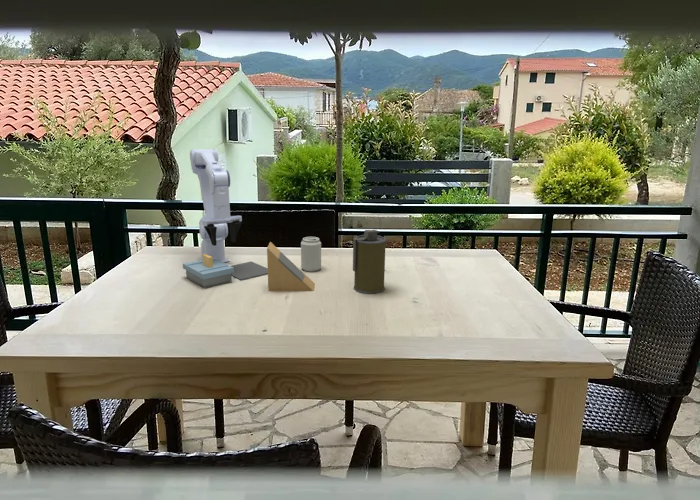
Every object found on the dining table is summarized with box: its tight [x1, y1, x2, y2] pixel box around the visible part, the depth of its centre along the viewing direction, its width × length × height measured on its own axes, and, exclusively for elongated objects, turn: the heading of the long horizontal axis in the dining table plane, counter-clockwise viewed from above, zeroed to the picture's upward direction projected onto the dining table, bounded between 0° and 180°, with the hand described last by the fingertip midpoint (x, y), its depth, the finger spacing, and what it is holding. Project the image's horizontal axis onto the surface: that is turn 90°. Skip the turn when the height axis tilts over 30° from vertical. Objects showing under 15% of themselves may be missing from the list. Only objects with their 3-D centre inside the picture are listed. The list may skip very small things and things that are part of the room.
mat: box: [230, 261, 268, 281], centre depth 190 cm, size 16×14×1 cm
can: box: [300, 236, 322, 273], centre depth 192 cm, size 8×8×12 cm
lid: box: [182, 254, 234, 279], centre depth 179 cm, size 15×11×5 cm
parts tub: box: [185, 270, 233, 289], centre depth 180 cm, size 14×10×4 cm
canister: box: [352, 229, 387, 295], centre depth 172 cm, size 11×10×20 cm
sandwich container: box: [266, 241, 316, 292], centre depth 173 cm, size 9×15×15 cm, turn 92°
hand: (223, 243), depth 185 cm, fingers open, 7 cm apart
